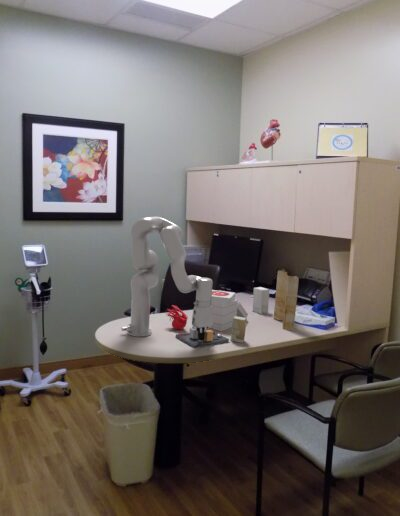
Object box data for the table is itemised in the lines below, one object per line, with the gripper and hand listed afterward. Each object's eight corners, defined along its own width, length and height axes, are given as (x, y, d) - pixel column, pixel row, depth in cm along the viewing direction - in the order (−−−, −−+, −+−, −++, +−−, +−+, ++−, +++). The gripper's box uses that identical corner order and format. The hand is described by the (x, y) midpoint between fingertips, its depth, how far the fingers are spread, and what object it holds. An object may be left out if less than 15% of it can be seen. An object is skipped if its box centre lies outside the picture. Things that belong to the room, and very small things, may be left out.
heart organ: (177, 333, 248) (179, 311, 246) (163, 327, 256) (164, 305, 255) (191, 330, 254) (193, 308, 253) (177, 324, 263) (179, 303, 261)
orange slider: (207, 341, 232) (207, 332, 232) (202, 339, 235) (203, 330, 235) (212, 340, 234) (213, 331, 234) (208, 338, 237) (209, 329, 237)
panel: (194, 348, 228) (194, 343, 227) (175, 337, 241) (175, 332, 241) (228, 342, 240) (229, 337, 239) (209, 332, 253) (209, 327, 253)
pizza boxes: (250, 321, 278) (252, 291, 276) (222, 332, 254) (224, 299, 251) (222, 314, 289) (225, 285, 286) (193, 324, 265) (195, 293, 262)
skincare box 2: (268, 313, 298) (270, 289, 295) (260, 314, 294) (262, 290, 292) (259, 310, 305) (261, 286, 302) (251, 311, 301) (253, 287, 299)
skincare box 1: (230, 341, 241) (232, 317, 239) (232, 338, 245) (234, 315, 244) (242, 343, 239) (244, 319, 237) (244, 340, 243) (246, 317, 241)
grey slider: (193, 338, 235) (193, 330, 234) (189, 336, 238) (189, 328, 237) (198, 338, 237) (199, 329, 236) (195, 335, 240) (195, 327, 239)
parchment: (295, 330, 266) (300, 278, 262) (284, 330, 265) (289, 277, 261) (282, 318, 289) (287, 270, 284) (272, 318, 288) (277, 269, 283)
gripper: (194, 306, 222) (192, 344, 225) (220, 303, 231) (217, 340, 233) (186, 302, 228) (184, 339, 231) (211, 300, 237) (209, 335, 240)
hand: (201, 339), depth 232 cm, fingers closed
